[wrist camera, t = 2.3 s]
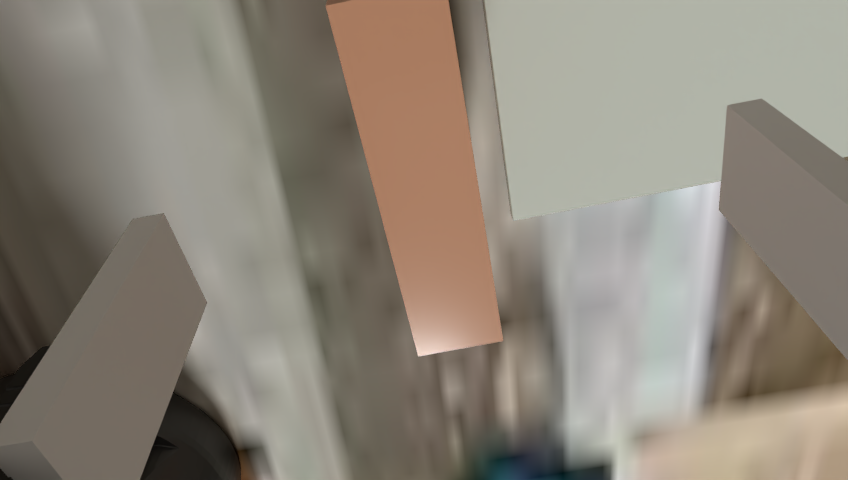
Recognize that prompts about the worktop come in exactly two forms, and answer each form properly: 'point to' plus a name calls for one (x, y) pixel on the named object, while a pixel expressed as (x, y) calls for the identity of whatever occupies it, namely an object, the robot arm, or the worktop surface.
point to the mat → (652, 89)
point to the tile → (421, 164)
